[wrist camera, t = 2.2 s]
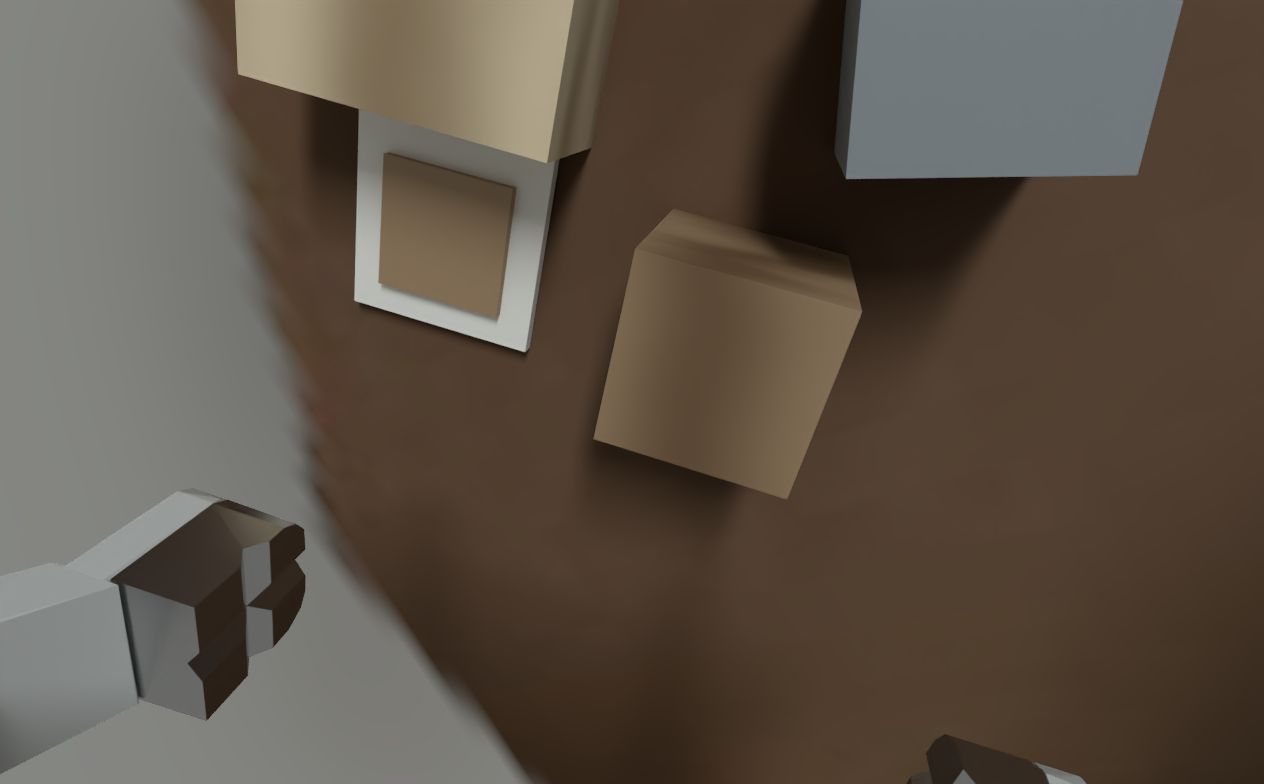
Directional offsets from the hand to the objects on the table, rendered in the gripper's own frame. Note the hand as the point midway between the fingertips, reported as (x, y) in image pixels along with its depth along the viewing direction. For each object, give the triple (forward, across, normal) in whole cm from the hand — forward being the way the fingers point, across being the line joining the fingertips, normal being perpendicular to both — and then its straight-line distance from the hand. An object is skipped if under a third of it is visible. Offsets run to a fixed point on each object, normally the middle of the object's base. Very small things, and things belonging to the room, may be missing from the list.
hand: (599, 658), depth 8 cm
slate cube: (+13, -4, -8) cm, 16 cm away
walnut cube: (+13, -1, 0) cm, 13 cm away
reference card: (+13, +8, 0) cm, 16 cm away
